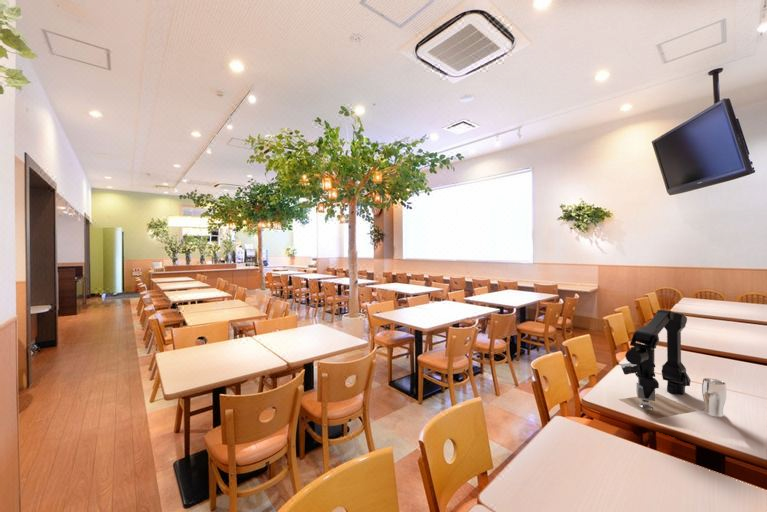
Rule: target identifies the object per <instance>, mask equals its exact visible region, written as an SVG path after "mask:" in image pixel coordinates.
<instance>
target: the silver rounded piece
mask: <svg viewBox="0 0 767 512" xmlns="http://www.w3.org/2000/svg"><path fill="white" fill-rule="evenodd" d="M638 406H639V407H640V408H643V409H646V410H653V407H652V406H650V401H649V400H647V399H641V403H639V404H638Z"/></svg>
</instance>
